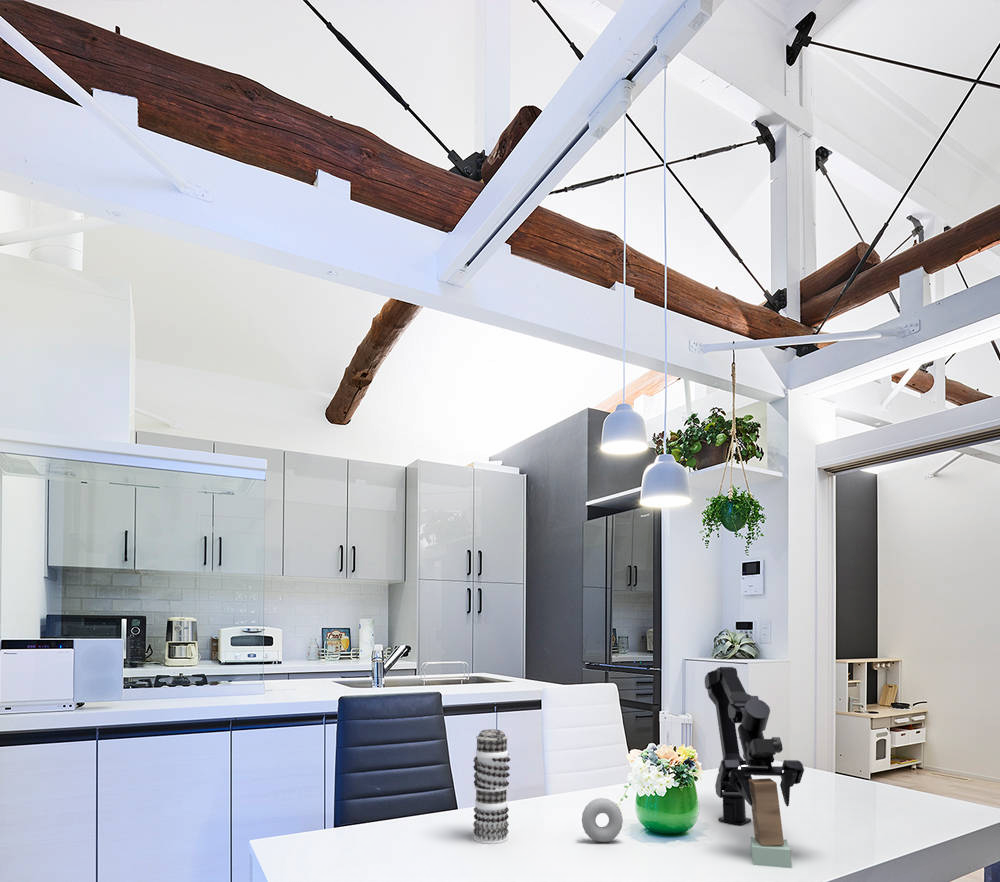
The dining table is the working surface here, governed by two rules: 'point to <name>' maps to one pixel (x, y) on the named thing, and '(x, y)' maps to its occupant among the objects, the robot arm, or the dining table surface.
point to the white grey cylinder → (491, 787)
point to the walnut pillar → (766, 812)
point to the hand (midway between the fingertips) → (769, 805)
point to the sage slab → (771, 854)
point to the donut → (613, 825)
